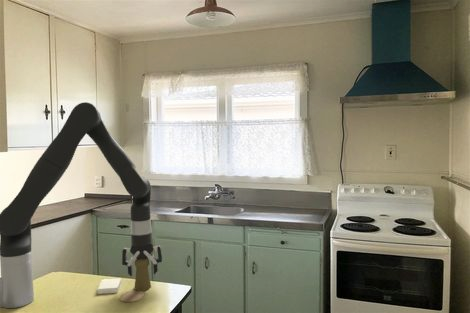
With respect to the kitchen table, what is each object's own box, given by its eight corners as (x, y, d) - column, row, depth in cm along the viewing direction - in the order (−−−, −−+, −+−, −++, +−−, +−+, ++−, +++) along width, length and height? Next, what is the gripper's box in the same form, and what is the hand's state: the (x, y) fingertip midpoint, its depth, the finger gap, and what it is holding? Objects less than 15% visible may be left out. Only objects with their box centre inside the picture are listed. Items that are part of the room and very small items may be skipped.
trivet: (118, 303, 125) (118, 301, 125) (121, 293, 133) (121, 291, 133) (142, 301, 126) (142, 299, 126) (144, 291, 134) (144, 289, 134)
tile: (97, 289, 132) (102, 279, 141) (97, 294, 132) (102, 285, 141) (117, 287, 133) (121, 278, 142) (117, 293, 133) (121, 283, 142)
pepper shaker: (146, 291, 134) (145, 261, 134) (131, 290, 135) (130, 260, 135) (153, 284, 140) (152, 255, 139) (138, 283, 141) (138, 255, 141)
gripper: (161, 227, 141) (162, 269, 142) (122, 230, 139) (124, 272, 140) (160, 232, 134) (162, 276, 135) (119, 235, 132) (121, 279, 133)
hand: (143, 274), depth 138 cm, fingers open, 8 cm apart
